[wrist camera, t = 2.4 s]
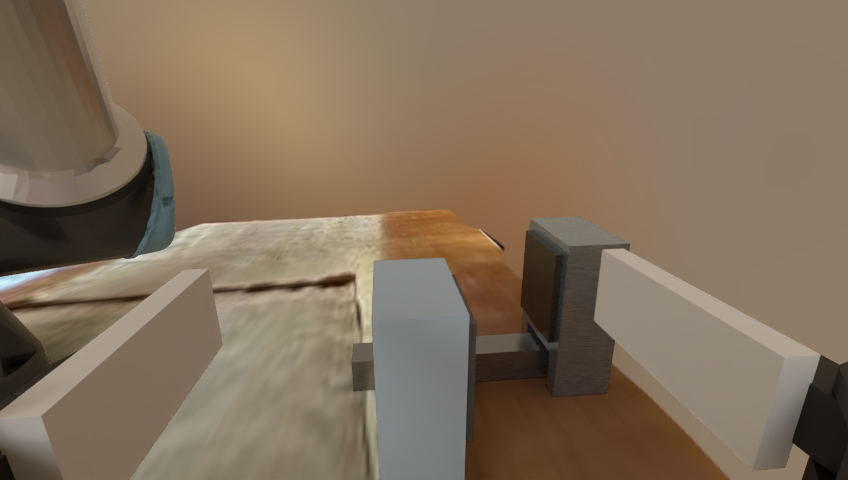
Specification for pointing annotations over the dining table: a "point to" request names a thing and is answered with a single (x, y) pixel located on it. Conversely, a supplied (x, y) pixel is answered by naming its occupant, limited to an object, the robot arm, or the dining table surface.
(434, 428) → the tall grey-blue pillar
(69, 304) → the dining table surface
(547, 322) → the grey l-shaped block
